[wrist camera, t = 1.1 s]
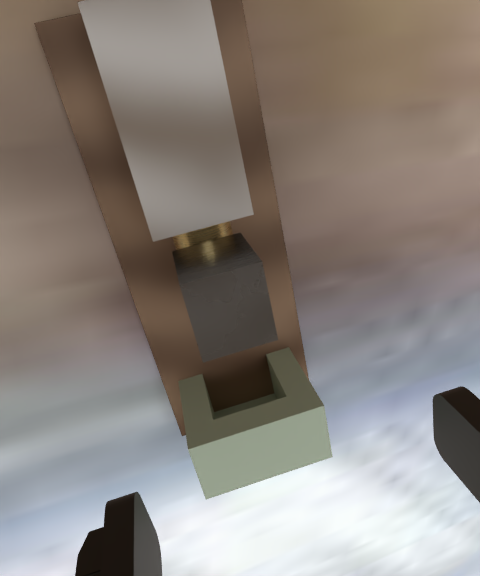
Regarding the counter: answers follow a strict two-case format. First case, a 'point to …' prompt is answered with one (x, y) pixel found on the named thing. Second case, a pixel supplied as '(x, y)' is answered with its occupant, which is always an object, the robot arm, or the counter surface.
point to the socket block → (255, 429)
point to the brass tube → (223, 291)
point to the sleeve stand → (175, 165)
